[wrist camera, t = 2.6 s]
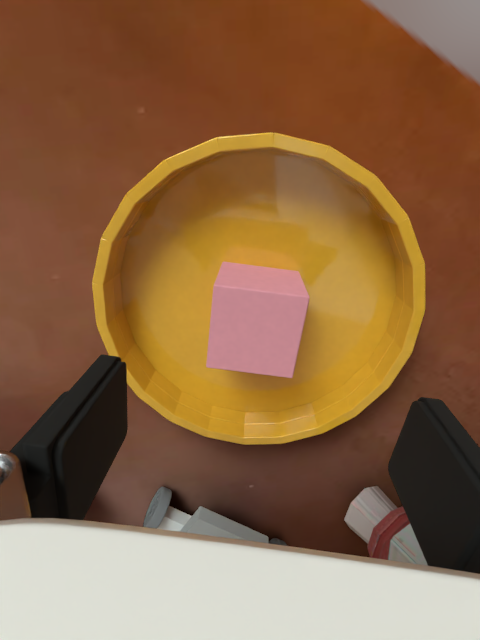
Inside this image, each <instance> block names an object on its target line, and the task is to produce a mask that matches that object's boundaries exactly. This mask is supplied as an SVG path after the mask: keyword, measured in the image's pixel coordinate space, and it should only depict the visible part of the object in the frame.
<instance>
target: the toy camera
mask: <svg viewBox="0 0 480 640" xmlns="http://www.w3.org/2000/svg"><path fill="white" fill-rule="evenodd" d="M344 520H345V522H346V523H347V525H348V526H349V528H350V529H352V530H353V531H354V532H355V533H356V534H357V535H358V536H360V537H361V538H362V539H363V540H364V541H365V542H367V543H368V546H367V548H368V551H369V555H370V558H377V559H384V560H391V561H398V562H405V563H412V564H419V565H426V566H428V564H427V562H426V560H425V557H424V555H423V553H422V550H421V548H420V546H419V543H418V541H417V539H416V536H415V534H414V531H413V529H412V527H411V524H410V522H409V520H408V517H407V515H406V513H405V510H404V508H403V506H401V507H399V508H397V507H396V506H395V505H394V503H393V502H392V501H391V500H390V499H389V498H388V497H387V496H386V495H385V494H384V492H383V491H382V490H381V489H380V488H379V487H378V486H374V487H369V488H365V489H364V490H363V491H362V492H361V493H360V494H359V495H358V496H357V497H356V498H355V499H354V500H353V501H352V502H351V504H350V506H349V509H348V511H347V514H346V516H345V519H344Z"/></svg>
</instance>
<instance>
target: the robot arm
mask: <svg viewBox="0 0 480 640" xmlns="http://www.w3.org/2000/svg"><path fill="white" fill-rule="evenodd" d="M126 433H127V369H126V363H125V362H121V358H120V357H117V356H110V355H101V356H99V358H98V359H97V360H96V361H95V362H94V363H93V364H92V366H91V367H90V368H89V369H88V370H87V371H86V372H85V373H84V375H83V376H82V377H81V378H80V379H79V380H78V381H77V383H76V384H75V385H74V386H73V387H72V388H71V389H70V390H69V391H67V392H64V393H63V394H62V395H61V396H60V397H59V398H58V399H57V400H56V401H55V402H54V403H53V404H52V406H51V407H50V408H49V409H48V410H47V411H46V412H45V413H44V414H43V415H42V417H41V418H40V419H39V420H38V421H37V422H36V423H35V424H34V425H33V427H32V428H31V429H30V430H29V431H28V432H27V433H26V434H25V435H24V437H23V438H22V439H21V440H20V441H19V442H18V443H17V444H16V445H15V446H14V448H13V449H12V450H11V451H10V452H8V451H3V450H0V640H480V448H479V447H478V445H477V444H476V443H475V442H474V440H473V439H472V438H471V437H470V435H469V434H468V433H467V431H466V430H465V429H464V428H463V426H462V425H461V424H460V423H459V421H458V420H457V419H456V418H455V416H454V415H453V414H452V413H451V411H450V410H449V409H448V407H447V406H446V405H445V404H444V402H443V401H441V400H439V399H432V398H424V397H421V398H419V399H418V401H414V402H413V403H412V405H411V407H410V410H409V413H408V415H407V418H406V420H405V423H404V425H403V428H402V430H401V433H400V436H399V438H398V441H397V443H396V446H395V448H394V451H393V453H392V456H391V459H390V461H389V465H388V470H389V475H390V477H391V480H392V482H393V484H394V487H395V489H396V491H397V494H398V496H399V498H400V501H401V503H402V505H403V508H404V510H405V513H406V515H407V517H408V520H409V522H410V524H411V527H412V529H413V531H414V534H415V536H416V539H417V541H418V543H419V546H420V548H421V550H422V553H423V555H424V557H425V560H426V562H427V564H428V566H426V565H419V564H412V563H405V562H398V561H391V560H384V559H377V558H370V557H363V556H356V555H349V554H342V553H334V552H327V551H320V550H313V549H305V548H298V547H291V546H283V545H276V544H269V543H261V542H254V541H246V540H239V539H232V538H224V537H216V536H209V535H201V534H193V533H186V532H178V531H170V530H163V529H155V528H147V527H139V526H131V525H122V524H113V523H104V522H95V521H86V520H83V519H84V517H85V515H86V513H87V511H88V509H89V507H90V505H91V503H92V501H93V499H94V497H95V495H96V493H97V492H98V490H99V488H100V486H101V484H102V482H103V480H104V478H105V476H106V474H107V472H108V470H109V468H110V466H111V464H112V462H113V460H114V459H115V457H116V455H117V453H118V451H119V449H120V447H121V445H122V443H123V441H124V439H125V437H126Z"/></svg>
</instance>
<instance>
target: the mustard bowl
mask: <svg viewBox="0 0 480 640" xmlns="http://www.w3.org/2000/svg"><path fill="white" fill-rule="evenodd" d="M222 262H230V263H238V264H246V265H254V266H261V267H269V268H277V269H285V270H293V271H299V273H300V275H301V278H302V280H303V283H304V285H305V288H306V290H307V292H308V295H309V297H310V299H309V304H308V308H307V313H306V318H305V322H304V327H303V332H302V336H301V341H300V346H299V350H298V355H297V360H296V364H295V369H294V374H293V377H292V378H286V377H278V376H270V375H262V374H254V373H247V372H239V371H231V370H223V369H215V368H207V367H206V362H207V351H208V340H209V329H210V318H211V307H212V296H213V286H214V283H215V280H216V278H217V275H218V273H219V270H220V267H221V265H222ZM92 282H93V283H92V288H93V298H94V307H95V316H96V325H97V328H98V331H99V333H100V335H101V338H102V340H103V343H104V345H105V347H106V350H107V352H108V355H110V356H117V357H120V358H121V362H125V363H126V369H127V384H128V385H129V386H130V387H131V389H132V390H133V391H134V393H135V394H136V395H137V396H138V397H139V398H140V399H142V400H143V401H144V402H145V403H147V404H148V405H149V406H151V407H152V408H153V409H154V410H156V411H157V412H158V413H160V414H161V415H162V416H163V417H165V418H166V419H167V420H169V421H171V422H173V423H175V424H177V425H180V426H182V427H184V428H186V429H188V430H191V431H193V432H195V433H197V434H200V435H202V436H205V437H208V438H213V439H218V440H223V441H228V442H233V443H238V444H243V445H254V444H282V443H288V442H292V441H296V440H300V439H304V438H308V437H312V436H316V435H320V434H323V433H325V432H327V431H329V430H330V429H332V428H334V427H336V426H338V425H340V424H342V423H344V422H346V421H348V420H350V419H352V418H354V417H356V416H357V415H358V414H360V413H361V412H362V411H363V410H364V409H365V408H366V407H368V406H369V405H370V404H371V403H372V402H373V401H374V400H376V399H377V398H378V397H379V396H380V395H381V394H382V393H384V392H385V391H386V390H387V389H388V388H389V387H390V385H391V384H392V382H393V381H394V379H395V378H396V376H397V375H398V373H399V372H400V370H401V369H402V367H403V366H404V364H405V363H406V361H407V360H408V358H409V357H410V355H411V354H412V352H413V348H414V345H415V342H416V339H417V335H418V332H419V329H420V326H421V323H422V319H423V316H424V313H425V264H424V259H423V256H422V254H421V251H420V248H419V245H418V242H417V239H416V236H415V233H414V230H413V228H412V225H411V222H410V219H409V217H408V215H407V214H406V213H405V211H404V210H403V209H402V207H401V206H400V205H399V204H398V202H397V201H396V200H395V199H394V197H393V196H392V195H391V194H390V192H389V191H388V190H387V188H386V187H385V186H384V185H383V183H382V182H381V181H380V180H379V178H378V177H377V176H376V175H375V174H373V173H372V172H370V171H368V170H367V169H365V168H364V167H362V166H361V165H359V164H357V163H356V162H354V161H353V160H351V159H350V158H348V157H347V156H345V155H343V154H342V153H340V152H339V151H337V150H336V149H334V148H332V147H331V146H328V145H325V144H321V143H316V142H312V141H308V140H304V139H300V138H296V137H292V136H288V135H284V134H279V133H272V132H268V133H257V134H245V135H233V136H222V137H217V138H213V139H210V140H208V141H206V142H203V143H201V144H199V145H196V146H194V147H192V148H190V149H187V150H185V151H183V152H180V153H178V154H176V155H173V156H171V157H169V158H166V160H163V161H162V162H161V163H160V164H159V165H158V166H157V167H155V168H154V169H153V170H152V171H151V172H150V173H149V174H148V175H147V176H145V177H144V178H143V179H142V180H141V181H140V182H139V183H138V184H136V185H135V186H134V187H133V188H132V189H131V190H130V191H129V192H128V193H126V195H125V196H124V198H123V200H122V202H121V203H120V205H119V207H118V209H117V210H116V212H115V214H114V216H113V217H112V219H111V221H110V223H109V224H108V226H107V228H106V230H105V231H104V233H103V235H102V238H101V241H100V246H99V251H98V255H97V260H96V265H95V270H94V275H93V280H92Z"/></svg>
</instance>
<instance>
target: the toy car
mask: <svg viewBox="0 0 480 640" xmlns="http://www.w3.org/2000/svg"><path fill="white" fill-rule="evenodd" d="M171 496H172V492H171V490H170V489H167V488H165V487H160V488H159V490H158V491H157V492H156V494H155V496H154V498H153V499H152V501H151V503H150V506H149V508H148V510H147V513H146V516H145V519H144V527H147V528H155V529H163V530H170V531H178V532H186V533H193V534H201V535H209V536H216V537H224V538H232V539H239V540H246V541H254V542H261V543H269V544H276V545H283V546H287V545H286V543H285V542H284V541H282V540H280V539H278V538H273V539H271V540H270V541H269V542H268V536H266V535H263V534H261V533H259V532H257V531H255V530H252V529H250V528H248V527H246V526H243V525H241V524H239V523H237V522H235V521H232V520H230V519H228V518H226V517H224V516H221V515H219V514H217V513H215V512H212V511H210V510H208V509H206V508H204V507H201V506H200V507H199V508H198V509H197V511H196V512H195V513H194V514H193V515H192V516H191V515H189V514H186V513H184V512H182V511H180V510H177V509H175V508H173V507H171V506H169V504H170V500H171Z"/></svg>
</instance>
